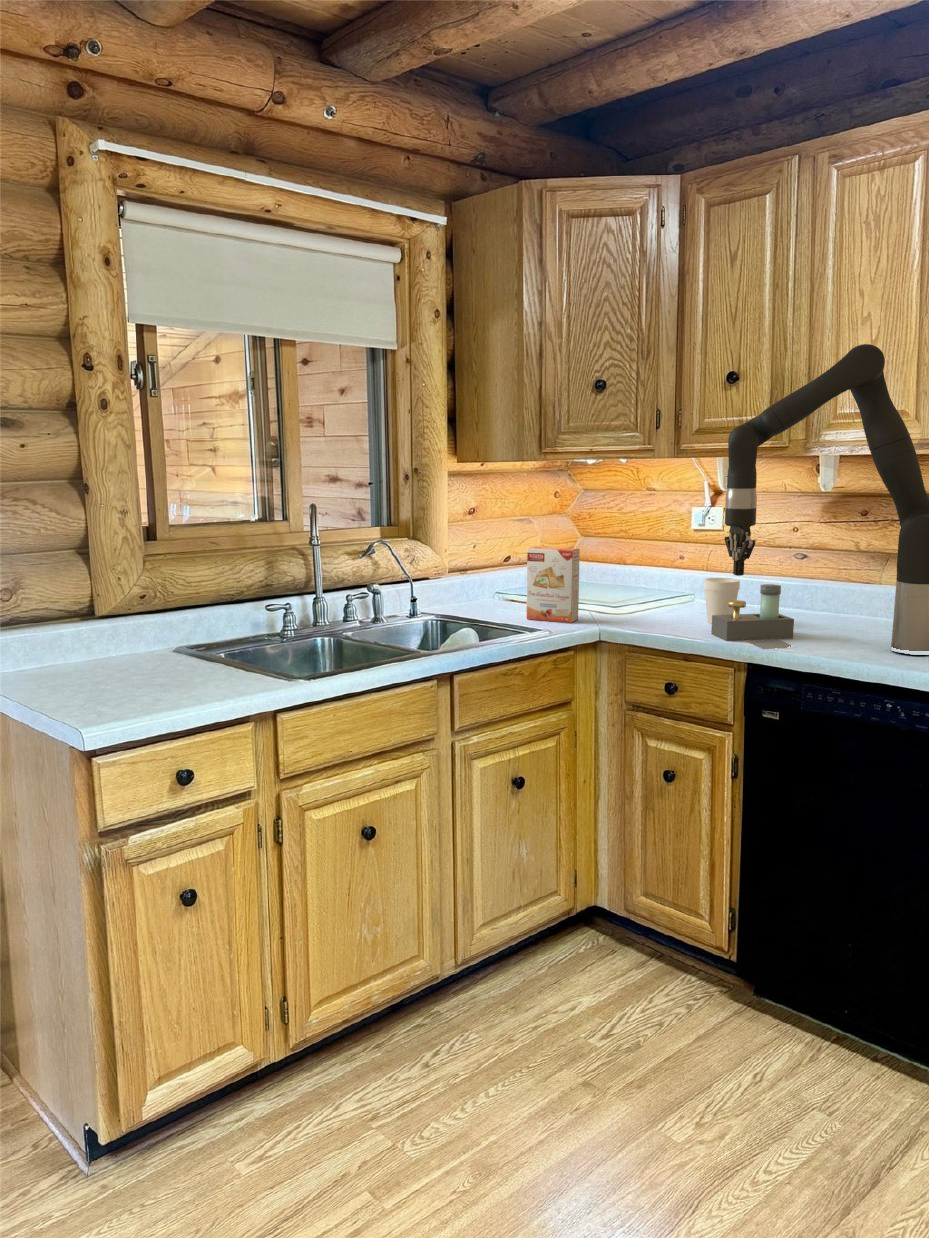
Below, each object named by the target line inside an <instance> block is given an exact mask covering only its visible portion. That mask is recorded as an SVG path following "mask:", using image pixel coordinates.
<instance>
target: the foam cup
mask: <svg viewBox="0 0 929 1238" xmlns="http://www.w3.org/2000/svg"><path fill="white" fill-rule="evenodd" d="M740 584H741V580H740V579H737V578H731V577H707V578H704V579H703V589H704V596H705V597H704V599H705V607H706V609H705V610H706V618H707V623H708V624H709V625H712V615H732V614H733V607H728V601H731V600H738V594H739V591H740V588H741V587H740V586H741V585H740Z"/></svg>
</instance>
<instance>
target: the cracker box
mask: <svg viewBox="0 0 929 1238" xmlns="http://www.w3.org/2000/svg"><path fill="white" fill-rule="evenodd" d="M580 551H581V550H580V548H571V547H558V546H557V547H555V546H537V545H536V546H530V547H527V551H526V552H527V555H526V556H527V557H526V619H527V620H535V621H544V622H555V623H562V624H563V623H564V624H565V623H566V624H572V623H574V622H577V621H578V620H579V602H580V601H579V599H580V598H579V597H580V595H579V594H580V588H579V587H580V553H581V552H580Z"/></svg>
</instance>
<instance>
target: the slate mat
mask: <svg viewBox="0 0 929 1238" xmlns="http://www.w3.org/2000/svg"><path fill="white" fill-rule="evenodd" d="M745 642H746V643H747V644H751V645H752V644H753V646H754V647H757V648H760V649H761V650H769V649H770V650H775V648H777V649H788V648H787V647H789V646H790V647H791V645H792V644H790V643H787V642H785V641H783V640H781V639H770V640H745Z"/></svg>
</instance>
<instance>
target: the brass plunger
mask: <svg viewBox="0 0 929 1238" xmlns="http://www.w3.org/2000/svg"><path fill="white" fill-rule="evenodd" d="M728 607H733V618H734V619H737V618H740V614H741V609H743V608H746V607H747V602H746V601H744V600H739V599H737V600H731V601H728Z"/></svg>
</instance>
